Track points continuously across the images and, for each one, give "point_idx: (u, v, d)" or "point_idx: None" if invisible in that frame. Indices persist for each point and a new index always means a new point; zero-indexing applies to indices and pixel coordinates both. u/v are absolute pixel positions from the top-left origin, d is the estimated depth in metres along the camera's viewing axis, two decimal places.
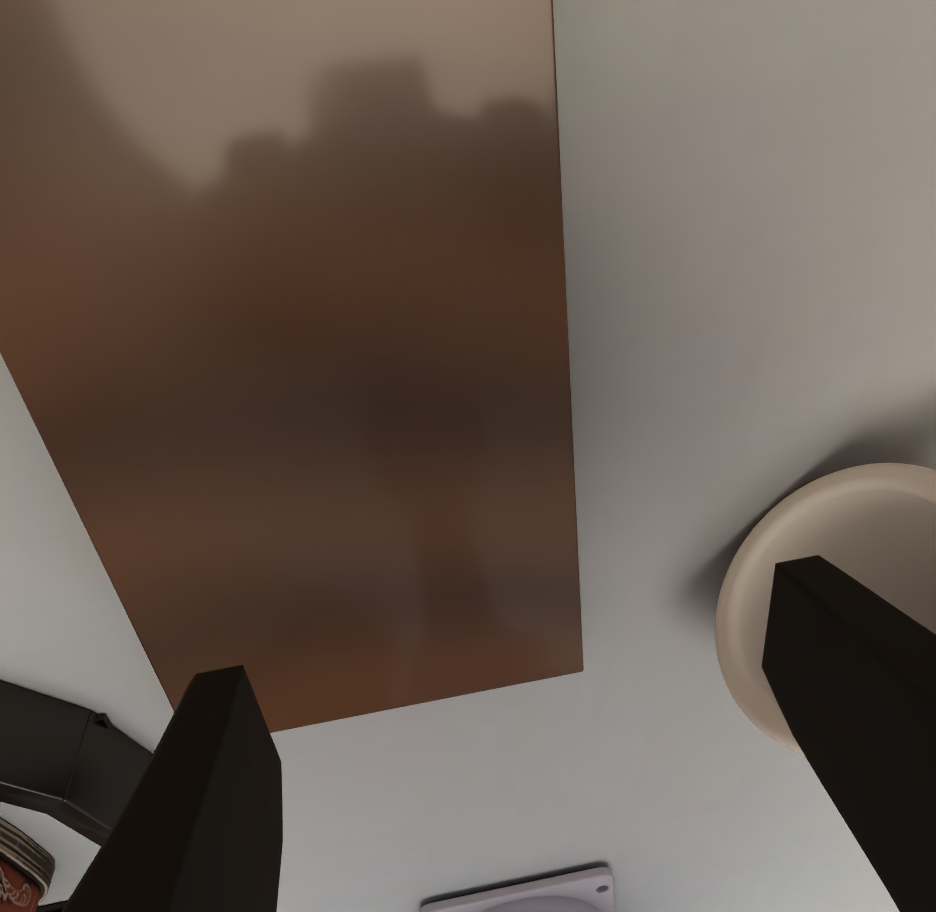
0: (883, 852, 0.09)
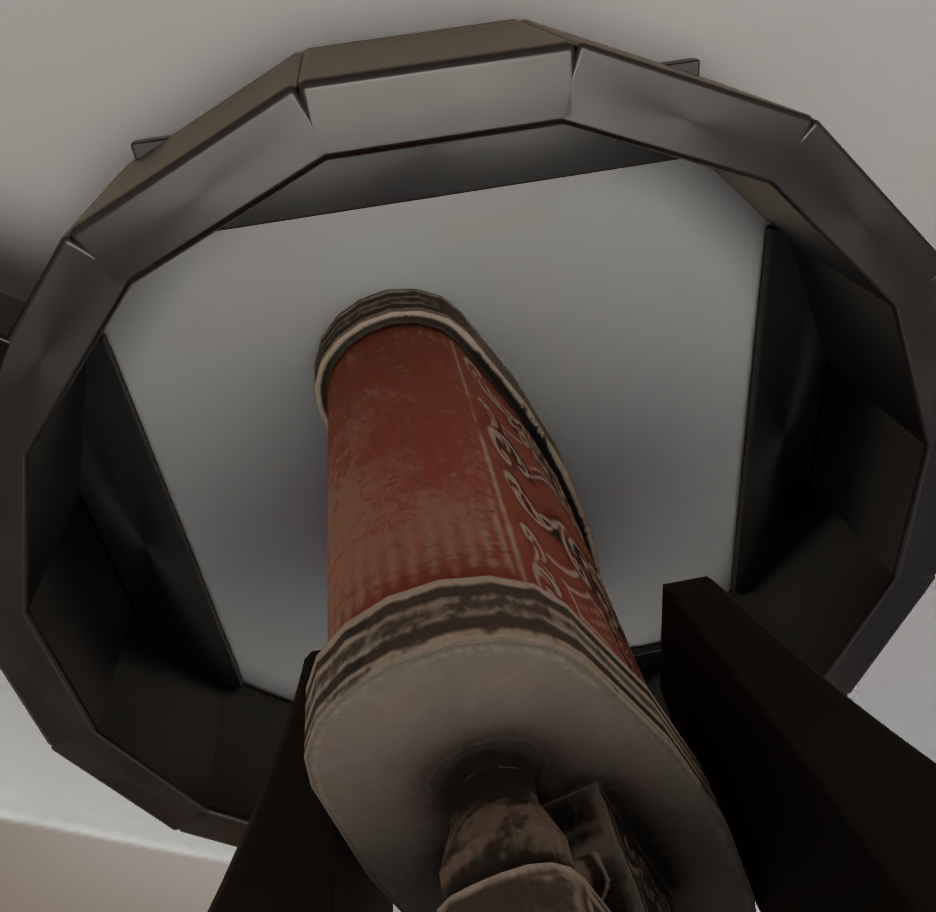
0: (758, 879, 0.09)
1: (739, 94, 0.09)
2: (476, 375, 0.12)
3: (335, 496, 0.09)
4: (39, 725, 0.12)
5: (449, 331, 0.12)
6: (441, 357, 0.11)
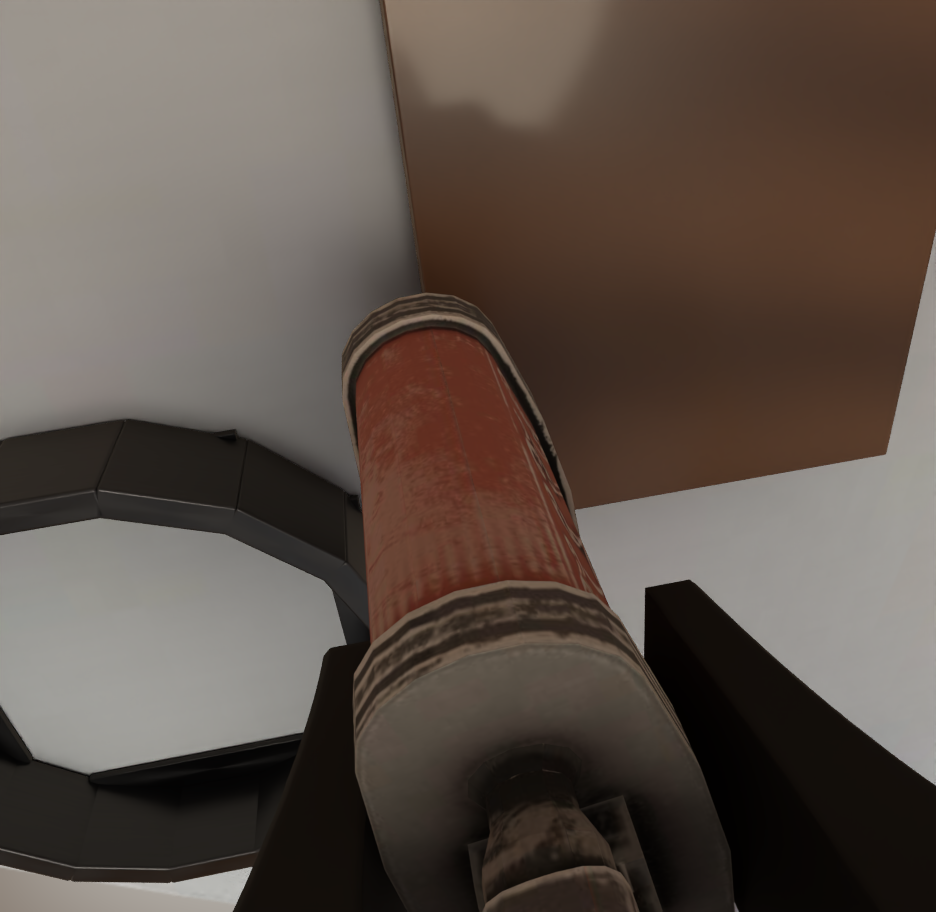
0: (738, 883, 0.09)
1: (189, 501, 0.17)
2: (507, 387, 0.12)
3: (377, 488, 0.09)
4: None
5: (484, 340, 0.12)
6: (480, 365, 0.11)
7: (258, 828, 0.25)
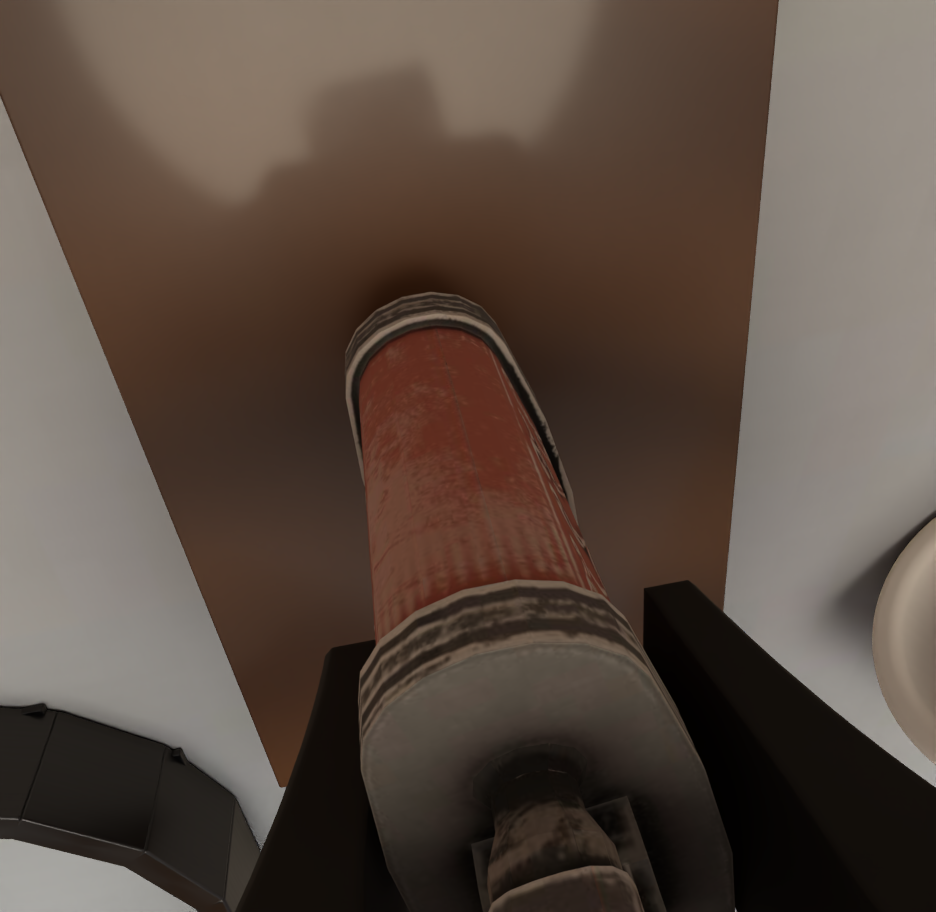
0: (736, 884, 0.09)
1: None
2: (511, 387, 0.12)
3: (382, 486, 0.09)
4: None
5: (488, 340, 0.12)
6: (485, 364, 0.11)
7: None
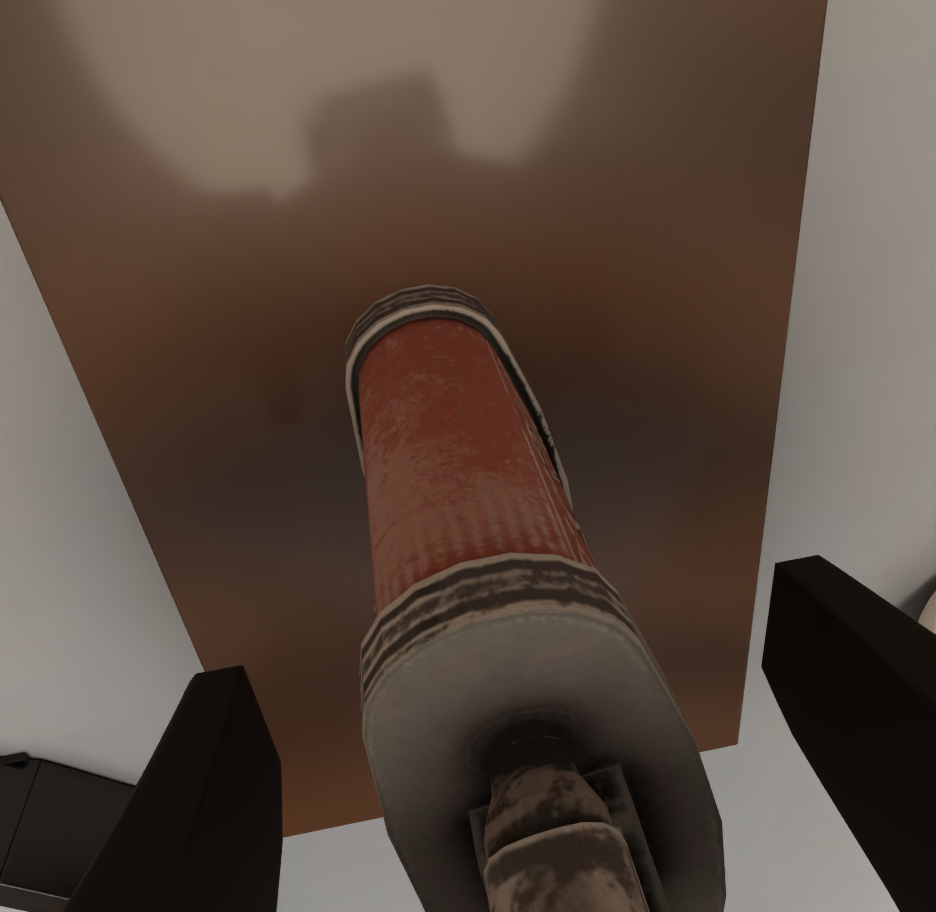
0: (883, 852, 0.09)
1: None
2: (507, 376, 0.12)
3: (382, 469, 0.09)
4: None
5: (485, 331, 0.12)
6: (482, 354, 0.11)
7: None
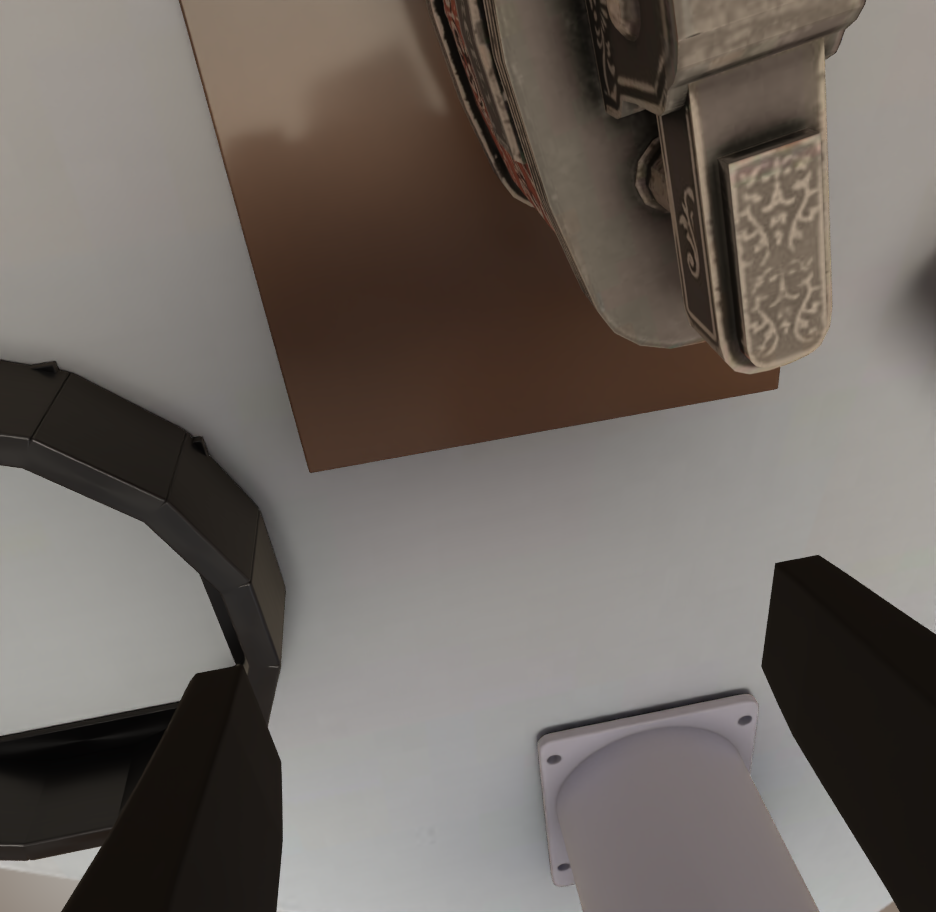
0: (883, 852, 0.09)
1: None
2: None
3: None
4: None
5: None
6: None
7: (123, 802, 0.23)
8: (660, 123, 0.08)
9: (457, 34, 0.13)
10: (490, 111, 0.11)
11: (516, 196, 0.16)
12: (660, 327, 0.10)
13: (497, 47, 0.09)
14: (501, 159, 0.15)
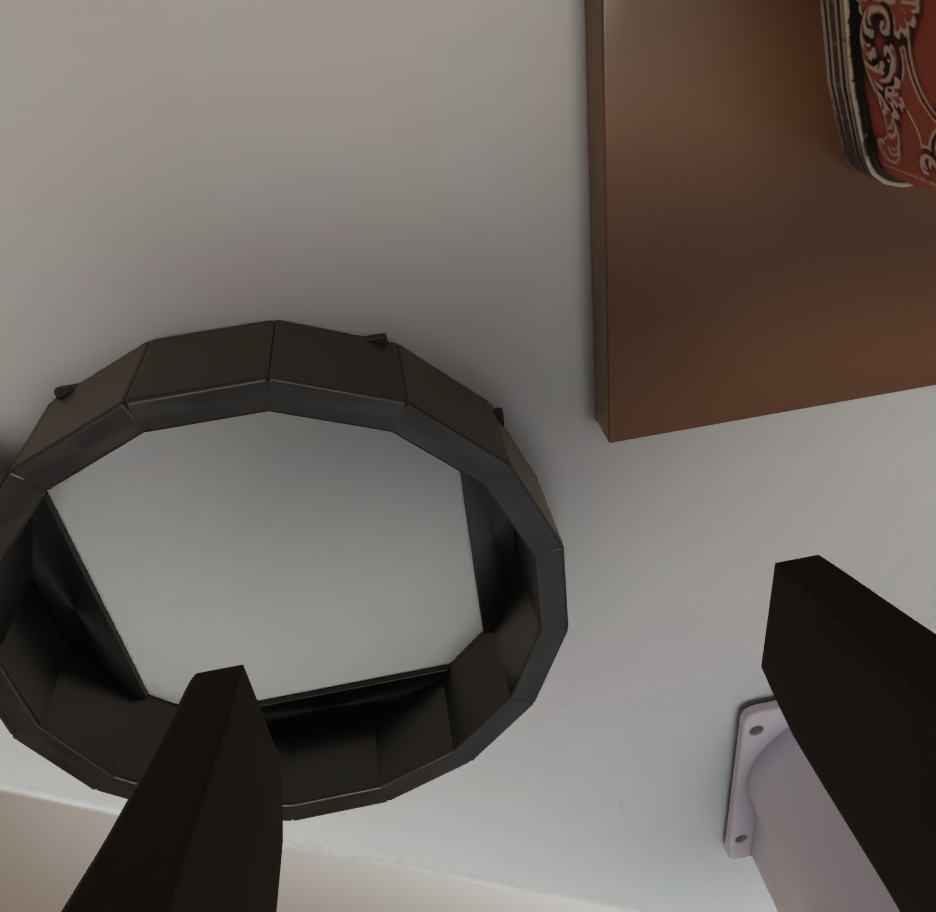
0: (883, 852, 0.09)
1: (361, 394, 0.17)
2: None
3: None
4: (4, 722, 0.20)
5: None
6: None
7: (380, 765, 0.24)
8: None
9: (882, 17, 0.14)
10: None
11: (874, 174, 0.17)
12: None
13: None
14: (870, 138, 0.16)
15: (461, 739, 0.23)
